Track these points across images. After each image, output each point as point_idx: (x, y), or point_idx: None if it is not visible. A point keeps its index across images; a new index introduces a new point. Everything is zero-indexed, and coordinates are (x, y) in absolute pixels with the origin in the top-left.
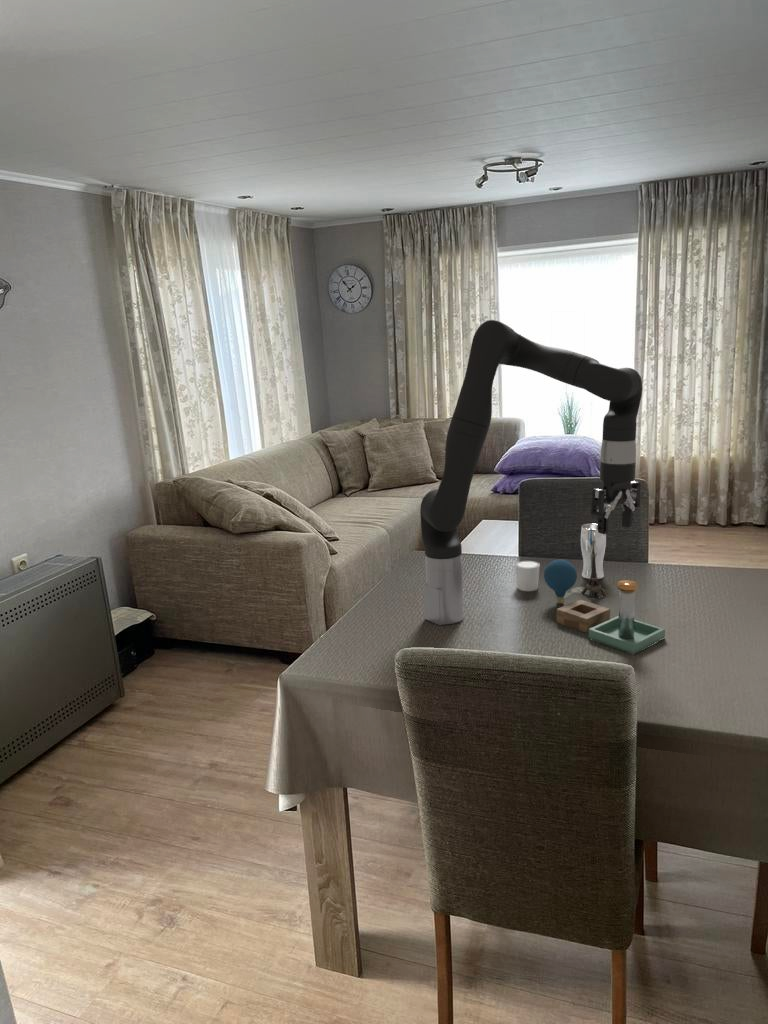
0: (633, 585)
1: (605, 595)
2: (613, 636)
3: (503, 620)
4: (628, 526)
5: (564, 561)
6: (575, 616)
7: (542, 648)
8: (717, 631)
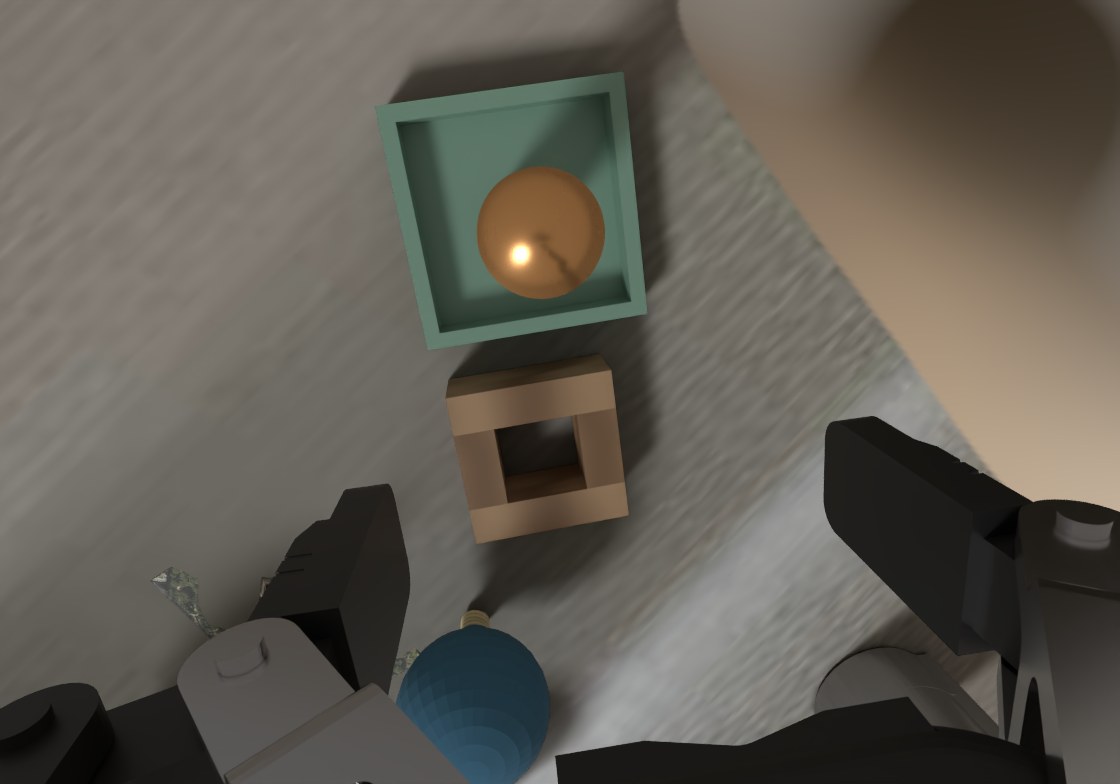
0: (537, 185)
1: (267, 586)
2: (626, 193)
3: (748, 593)
4: (392, 500)
5: (463, 755)
6: (616, 424)
7: (823, 340)
8: (88, 13)
